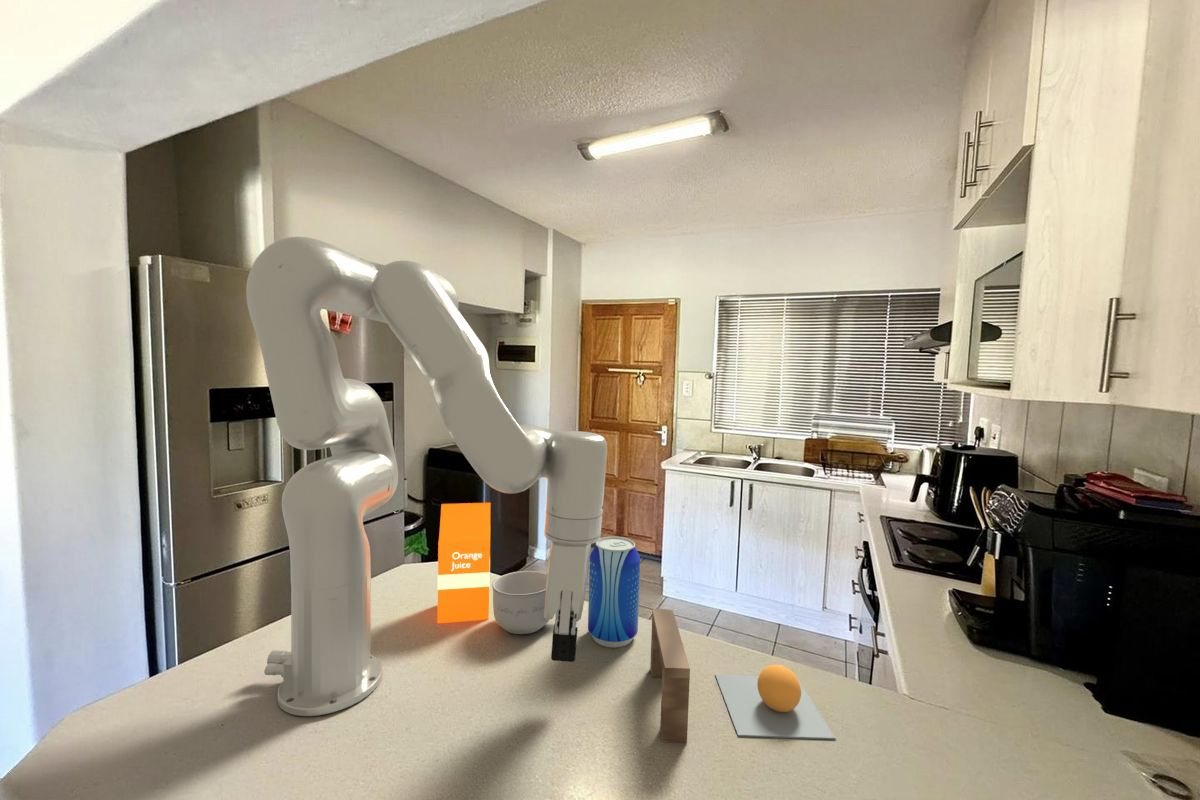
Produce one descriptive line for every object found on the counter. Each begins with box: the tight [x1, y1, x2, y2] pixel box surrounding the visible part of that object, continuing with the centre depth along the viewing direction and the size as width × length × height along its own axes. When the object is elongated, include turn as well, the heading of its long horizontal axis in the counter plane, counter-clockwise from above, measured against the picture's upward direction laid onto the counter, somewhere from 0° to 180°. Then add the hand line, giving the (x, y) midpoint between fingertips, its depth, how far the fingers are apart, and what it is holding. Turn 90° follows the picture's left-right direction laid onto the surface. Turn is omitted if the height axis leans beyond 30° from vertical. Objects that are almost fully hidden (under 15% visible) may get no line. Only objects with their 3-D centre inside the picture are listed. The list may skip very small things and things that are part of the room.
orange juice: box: [437, 502, 492, 624], centre depth 88 cm, size 8×9×20 cm
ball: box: [757, 664, 801, 712], centre depth 65 cm, size 6×6×6 cm
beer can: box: [587, 536, 641, 648], centre depth 81 cm, size 8×8×16 cm
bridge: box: [650, 608, 691, 743], centre depth 65 cm, size 3×14×9 cm, turn 0°
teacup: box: [491, 570, 551, 635], centre depth 84 cm, size 14×11×8 cm
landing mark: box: [715, 674, 837, 740], centre depth 66 cm, size 12×12×1 cm
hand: (563, 657), depth 65 cm, fingers closed
